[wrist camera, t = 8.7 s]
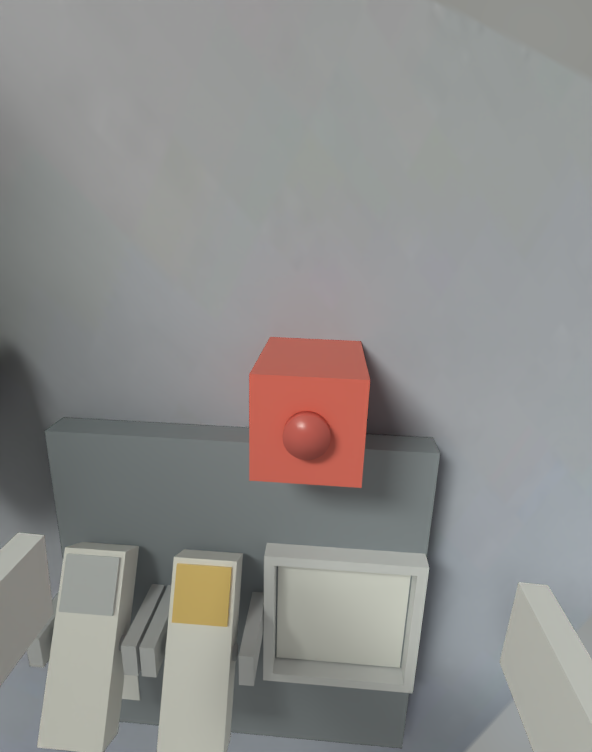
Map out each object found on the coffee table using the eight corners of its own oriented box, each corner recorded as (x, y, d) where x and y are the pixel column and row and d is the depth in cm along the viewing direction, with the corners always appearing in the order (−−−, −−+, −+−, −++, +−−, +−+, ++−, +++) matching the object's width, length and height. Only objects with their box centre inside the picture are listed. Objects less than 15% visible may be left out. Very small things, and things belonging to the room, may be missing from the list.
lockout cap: (270, 336, 27) (247, 378, 19) (360, 341, 26) (371, 385, 19) (268, 420, 28) (247, 487, 21) (354, 425, 28) (362, 494, 21)
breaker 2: (180, 548, 28) (169, 557, 26) (246, 553, 28) (239, 562, 26) (164, 734, 27) (150, 759, 25) (233, 740, 27) (225, 766, 25)
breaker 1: (79, 541, 29) (59, 547, 27) (142, 546, 29) (127, 552, 27) (54, 726, 27) (30, 749, 25) (121, 733, 27) (103, 756, 25)
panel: (63, 417, 29) (-11, 470, 23) (432, 437, 28) (461, 500, 21) (98, 692, 36) (48, 791, 29) (398, 719, 34) (412, 830, 28)
